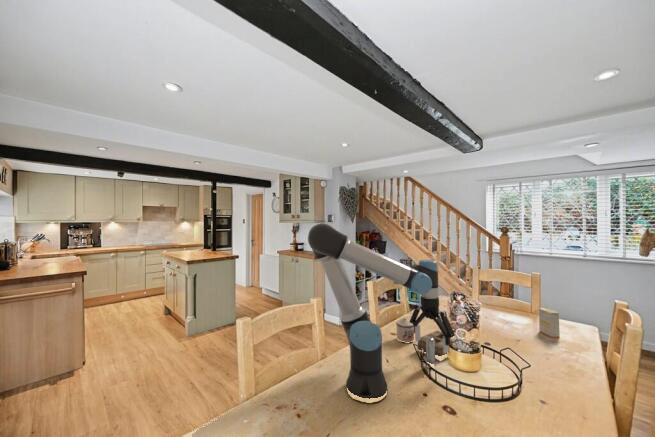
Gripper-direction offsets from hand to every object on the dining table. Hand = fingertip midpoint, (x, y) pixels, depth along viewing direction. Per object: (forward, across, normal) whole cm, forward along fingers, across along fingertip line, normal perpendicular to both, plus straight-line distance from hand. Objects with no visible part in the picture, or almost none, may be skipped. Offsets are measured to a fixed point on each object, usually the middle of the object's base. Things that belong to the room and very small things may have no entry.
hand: (431, 346), depth 113 cm
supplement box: (+10, -17, -80) cm, 82 cm away
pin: (+9, 0, 0) cm, 9 cm away
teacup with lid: (+9, +23, -12) cm, 28 cm away
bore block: (+9, +6, -14) cm, 18 cm away
